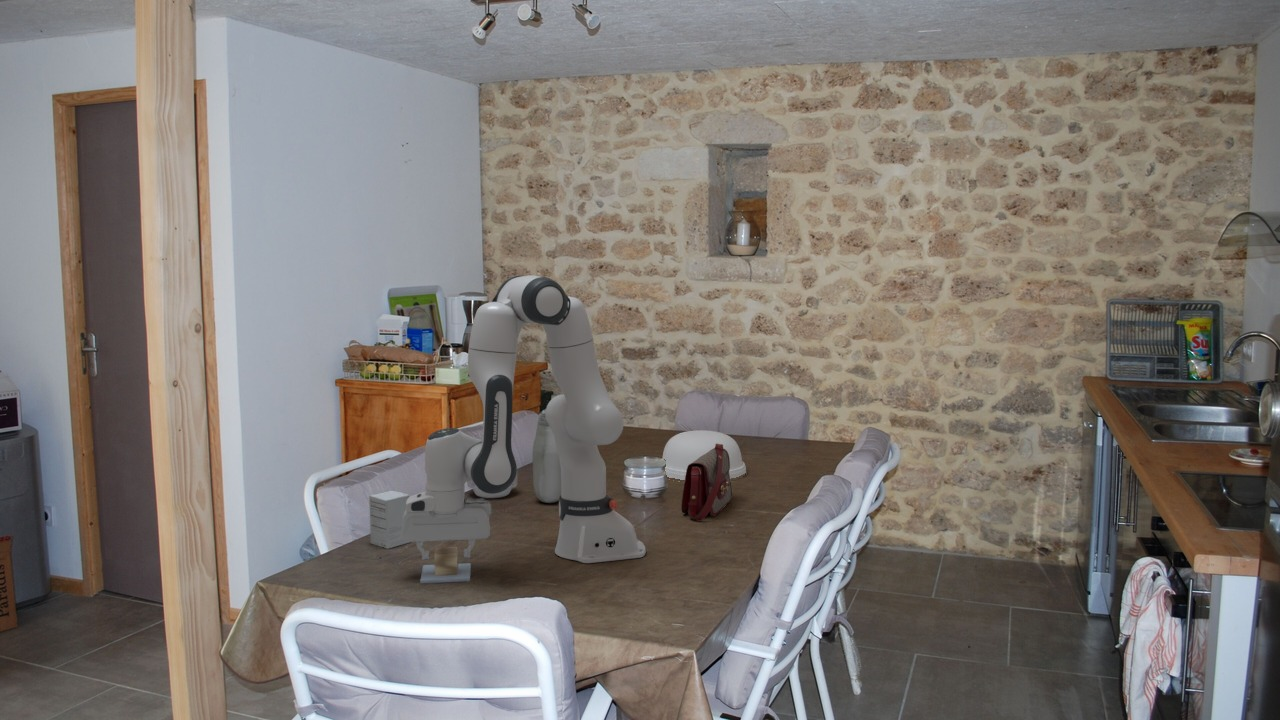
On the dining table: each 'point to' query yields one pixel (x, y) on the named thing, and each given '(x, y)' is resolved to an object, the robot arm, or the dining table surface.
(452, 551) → the beech cube
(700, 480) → the handbag
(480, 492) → the paper bowls
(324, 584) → the dining table surface
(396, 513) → the supplement box
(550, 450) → the glass bottle
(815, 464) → the dining table surface
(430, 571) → the coaster
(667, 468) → the dome cover
